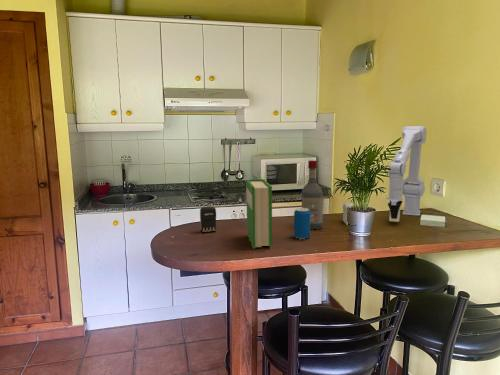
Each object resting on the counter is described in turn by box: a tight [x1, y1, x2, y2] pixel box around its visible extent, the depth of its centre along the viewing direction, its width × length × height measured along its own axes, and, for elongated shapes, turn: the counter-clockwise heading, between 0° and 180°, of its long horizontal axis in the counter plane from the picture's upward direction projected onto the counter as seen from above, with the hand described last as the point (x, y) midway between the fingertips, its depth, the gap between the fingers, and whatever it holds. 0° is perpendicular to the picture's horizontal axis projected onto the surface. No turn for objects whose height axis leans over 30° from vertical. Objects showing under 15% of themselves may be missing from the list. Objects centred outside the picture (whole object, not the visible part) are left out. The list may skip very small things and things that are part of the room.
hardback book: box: [245, 178, 273, 248], centre depth 154 cm, size 18×7×24 cm, turn 7°
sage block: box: [419, 214, 446, 228], centre depth 179 cm, size 10×10×2 cm
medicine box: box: [342, 202, 353, 226], centre depth 181 cm, size 8×4×9 cm, turn 179°
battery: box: [199, 205, 217, 231], centre depth 170 cm, size 7×4×11 cm, turn 102°
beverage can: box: [293, 207, 311, 240], centre depth 160 cm, size 6×6×12 cm
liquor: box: [301, 159, 324, 230], centre depth 174 cm, size 9×9×30 cm
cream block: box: [388, 208, 401, 223], centre depth 180 cm, size 4×4×5 cm
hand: (394, 217), depth 180 cm, fingers closed on cream block, 4 cm apart
